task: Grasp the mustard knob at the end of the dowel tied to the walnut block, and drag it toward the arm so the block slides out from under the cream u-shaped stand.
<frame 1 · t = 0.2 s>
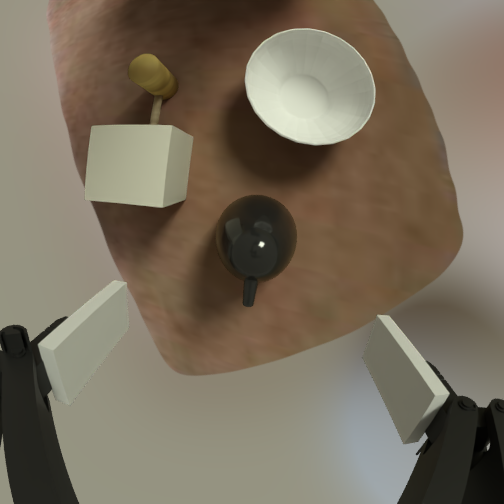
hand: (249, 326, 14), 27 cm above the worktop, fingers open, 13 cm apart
pump dispenser: (256, 229, 41), on the worktop
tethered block: (152, 168, 39), on the worktop
bowl: (304, 97, 36), on the worktop
cream u-shaped stand: (153, 165, 39), on the worktop
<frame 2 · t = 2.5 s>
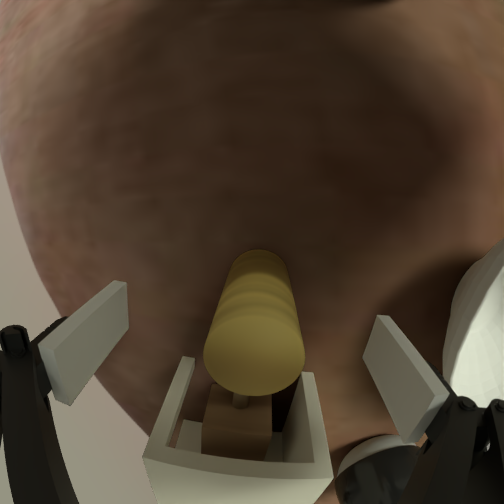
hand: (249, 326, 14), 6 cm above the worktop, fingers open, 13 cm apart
pump dispenser: (372, 448, 25), on the worktop
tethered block: (238, 406, 23), on the worktop
bowl: (479, 295, 19), on the worktop
cream u-shaped stand: (239, 403, 23), on the worktop
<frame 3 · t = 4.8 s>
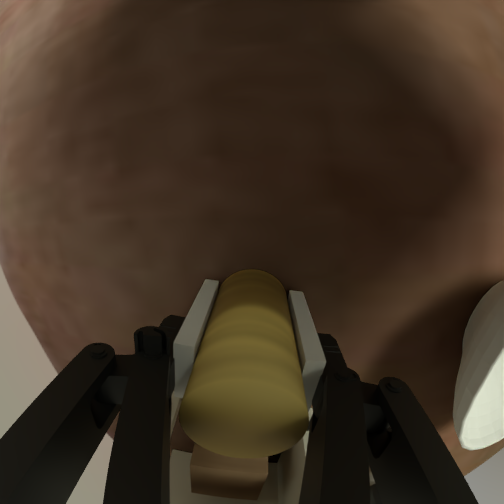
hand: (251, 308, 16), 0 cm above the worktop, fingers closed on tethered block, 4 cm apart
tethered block: (231, 436, 20), on the worktop, touching gripper
bowl: (492, 321, 17), on the worktop
cream u-shaped stand: (231, 437, 20), on the worktop
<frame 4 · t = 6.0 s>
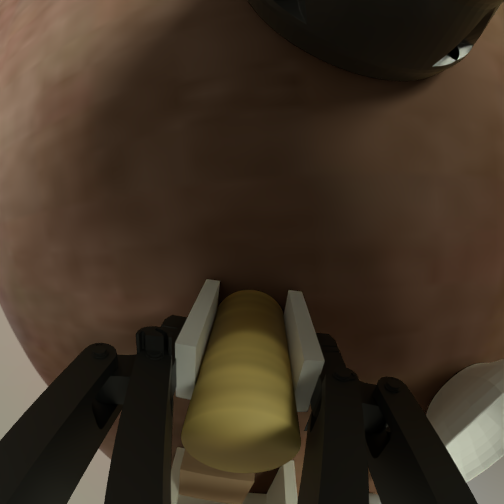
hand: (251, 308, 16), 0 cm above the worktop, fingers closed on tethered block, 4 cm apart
pump dispenser: (348, 500, 24), on the worktop
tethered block: (219, 442, 20), on the worktop, touching gripper
bowl: (458, 393, 19), on the worktop
cream u-shaped stand: (228, 477, 22), on the worktop
when the fingers open (0 cm above the worktop, at t = 7.4 s): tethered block stays where it is, on the worktop.
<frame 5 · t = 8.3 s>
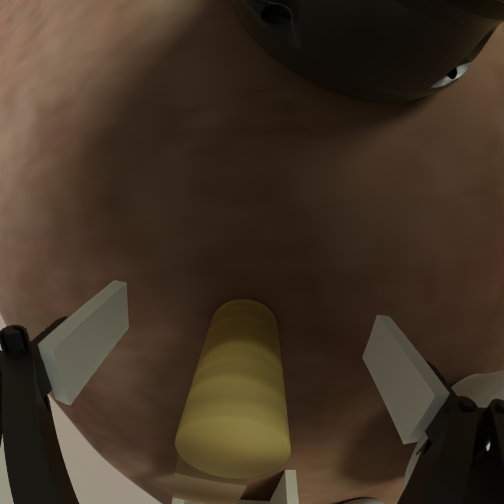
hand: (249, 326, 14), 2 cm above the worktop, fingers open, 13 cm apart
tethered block: (213, 446, 20), on the worktop
bowl: (455, 403, 19), on the worktop
cream u-shaped stand: (232, 486, 22), on the worktop
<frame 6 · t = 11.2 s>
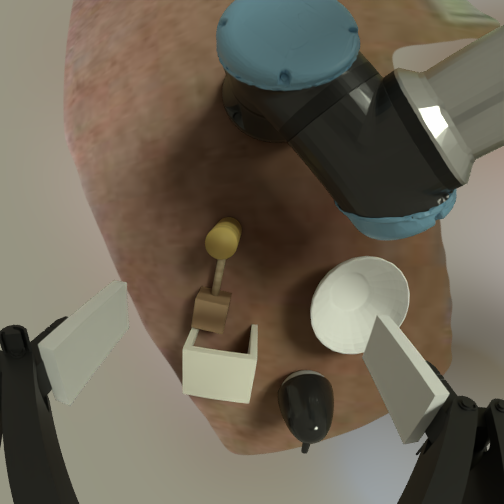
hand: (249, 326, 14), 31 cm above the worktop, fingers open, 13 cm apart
pump dispenser: (302, 381, 51), on the worktop
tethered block: (214, 303, 47), on the worktop
bowl: (349, 291, 46), on the worktop
cream u-shaped stand: (223, 342, 49), on the worktop
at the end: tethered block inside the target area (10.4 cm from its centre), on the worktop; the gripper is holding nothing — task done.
